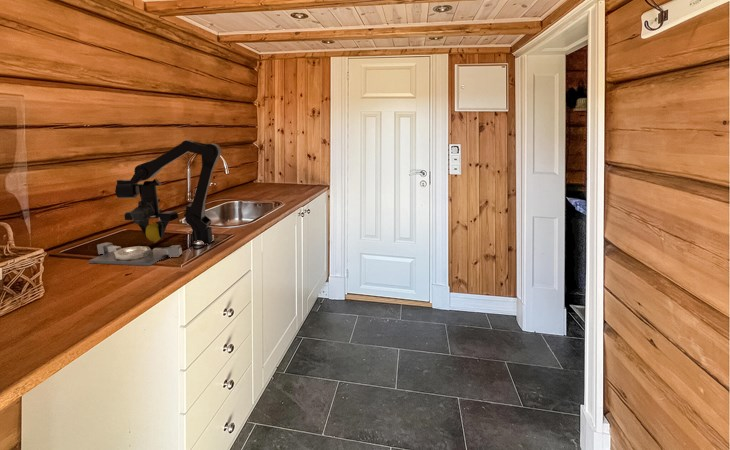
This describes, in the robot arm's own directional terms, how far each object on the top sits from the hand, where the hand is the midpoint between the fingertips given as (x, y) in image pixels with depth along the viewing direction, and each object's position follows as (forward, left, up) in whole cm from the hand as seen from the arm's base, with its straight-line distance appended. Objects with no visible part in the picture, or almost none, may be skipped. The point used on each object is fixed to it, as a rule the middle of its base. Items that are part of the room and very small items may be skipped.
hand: (154, 237), depth 155 cm
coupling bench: (-2, +15, -3) cm, 15 cm away
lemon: (0, 0, -2) cm, 2 cm away
